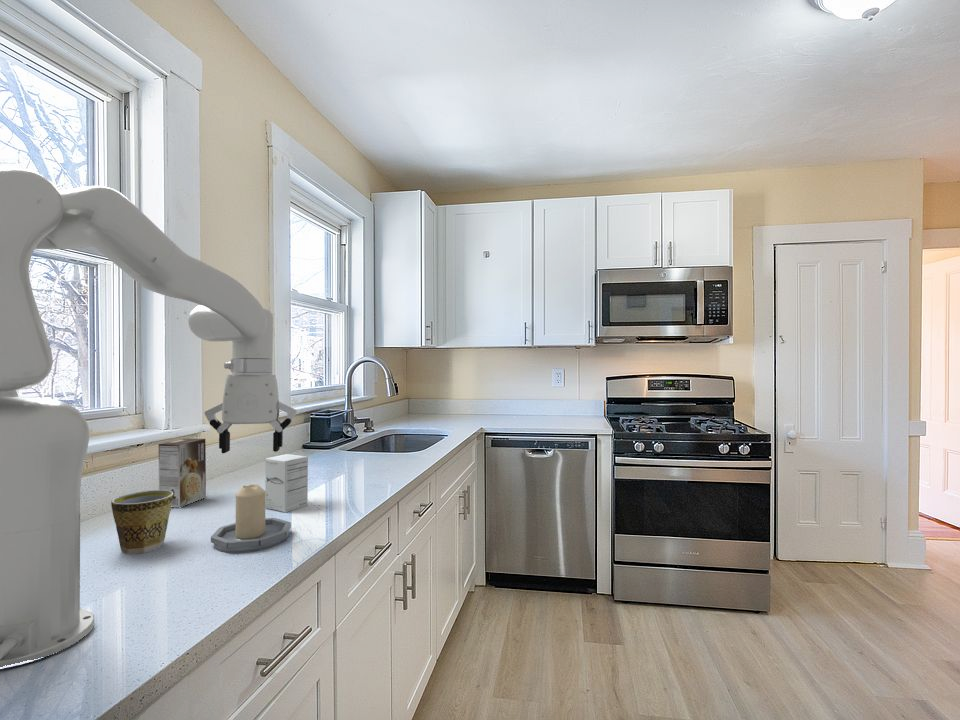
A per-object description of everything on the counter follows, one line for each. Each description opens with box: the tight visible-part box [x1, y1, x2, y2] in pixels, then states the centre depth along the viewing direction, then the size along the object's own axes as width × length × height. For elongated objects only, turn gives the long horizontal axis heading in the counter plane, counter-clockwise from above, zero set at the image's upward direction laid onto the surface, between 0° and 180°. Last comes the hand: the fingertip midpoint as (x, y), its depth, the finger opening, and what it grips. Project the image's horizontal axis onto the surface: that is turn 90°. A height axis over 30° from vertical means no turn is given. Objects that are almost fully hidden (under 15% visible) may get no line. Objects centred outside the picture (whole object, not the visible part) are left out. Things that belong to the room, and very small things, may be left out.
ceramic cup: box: [110, 489, 173, 555], centre depth 95 cm, size 13×10×10 cm
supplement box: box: [264, 453, 309, 513], centre depth 121 cm, size 7×7×13 cm
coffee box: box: [158, 438, 207, 508], centre depth 125 cm, size 9×6×16 cm
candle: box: [235, 484, 266, 539], centre depth 98 cm, size 6×6×10 cm
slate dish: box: [210, 517, 292, 554], centre depth 99 cm, size 14×14×2 cm
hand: (251, 451), depth 98 cm, fingers open, 9 cm apart
